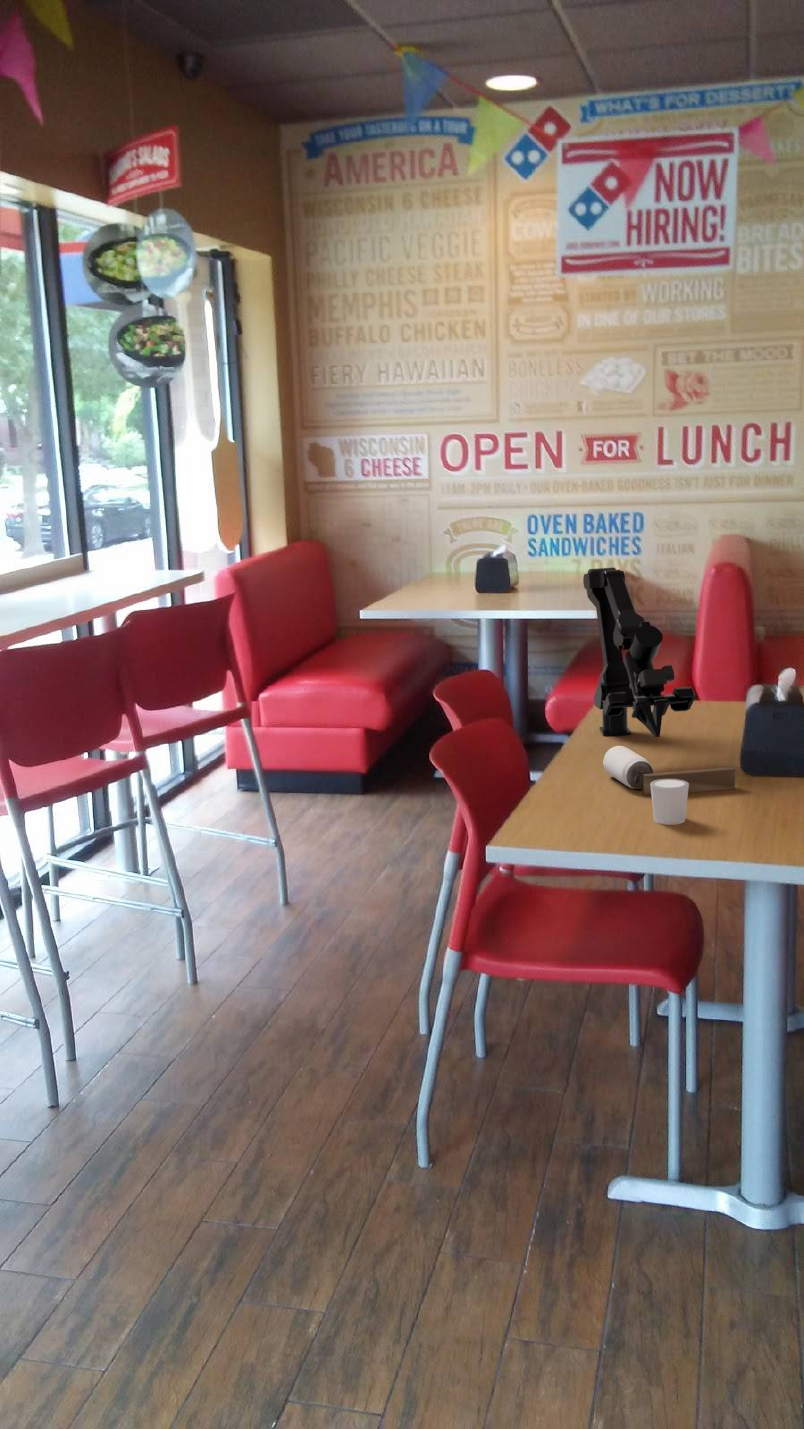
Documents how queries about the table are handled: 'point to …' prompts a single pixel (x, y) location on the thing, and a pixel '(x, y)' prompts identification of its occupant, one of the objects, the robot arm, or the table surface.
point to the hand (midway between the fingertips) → (657, 736)
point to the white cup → (669, 800)
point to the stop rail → (696, 779)
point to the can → (626, 766)
